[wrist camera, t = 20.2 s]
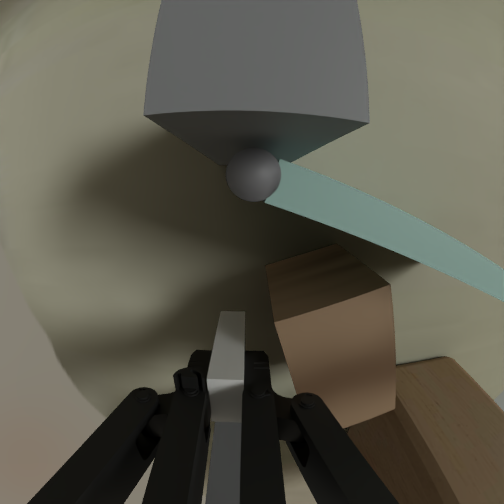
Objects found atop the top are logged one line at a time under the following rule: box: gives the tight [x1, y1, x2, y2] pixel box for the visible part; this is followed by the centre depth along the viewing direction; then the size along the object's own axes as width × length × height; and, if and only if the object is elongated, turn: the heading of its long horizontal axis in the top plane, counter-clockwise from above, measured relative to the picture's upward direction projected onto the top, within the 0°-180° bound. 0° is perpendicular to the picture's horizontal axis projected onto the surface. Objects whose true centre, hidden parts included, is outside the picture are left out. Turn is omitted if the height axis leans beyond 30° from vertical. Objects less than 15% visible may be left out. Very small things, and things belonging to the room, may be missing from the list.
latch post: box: [205, 422, 241, 504], centre depth 15 cm, size 4×4×13 cm
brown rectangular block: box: [265, 244, 396, 428], centre depth 15 cm, size 8×5×8 cm, turn 17°
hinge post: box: [144, 0, 370, 165], centre depth 10 cm, size 4×4×13 cm
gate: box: [226, 147, 504, 302], centre depth 12 cm, size 15×1×10 cm, turn 72°
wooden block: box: [347, 356, 504, 504], centre depth 12 cm, size 10×10×20 cm
